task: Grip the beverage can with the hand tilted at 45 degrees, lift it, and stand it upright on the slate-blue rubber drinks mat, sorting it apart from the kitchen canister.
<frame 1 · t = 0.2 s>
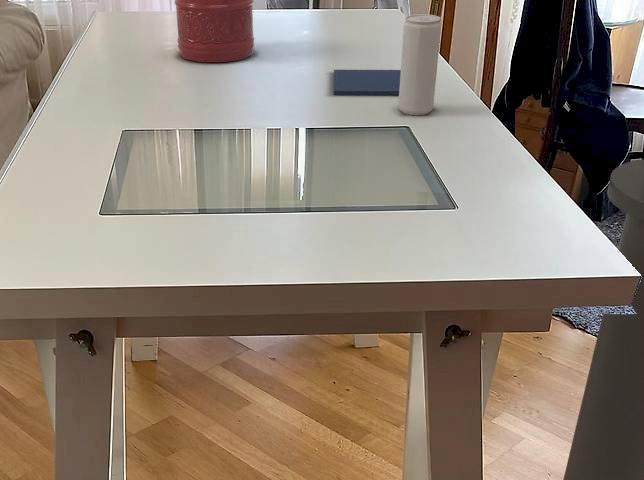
kitchen canister: (216, 55, 143), on the table
beverage can: (415, 112, 116), on the table
drinks mat: (373, 84, 127), on the table
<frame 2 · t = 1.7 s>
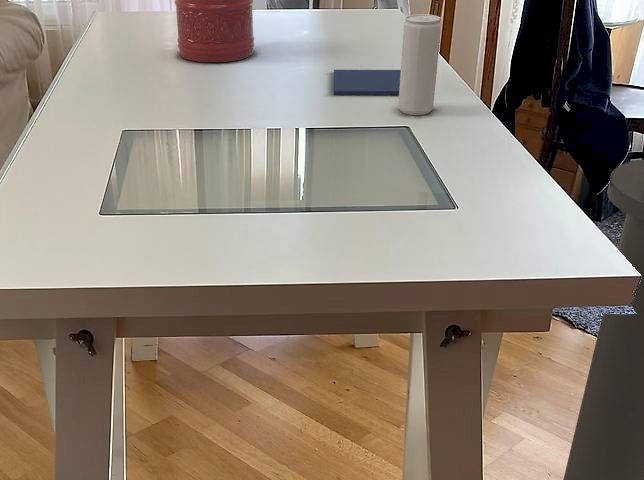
nothing on the table moved.
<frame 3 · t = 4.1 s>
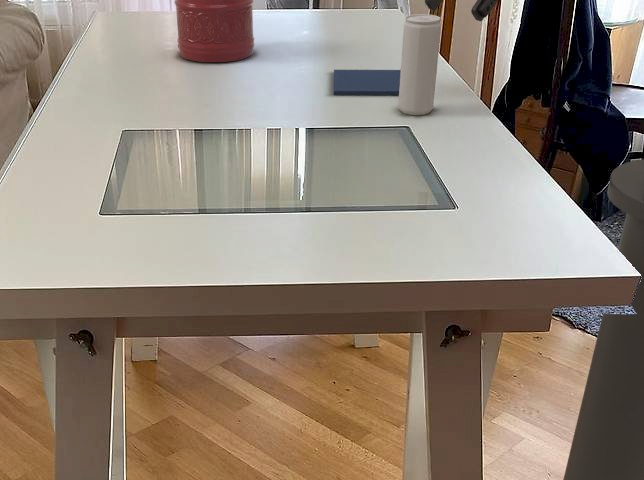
hand: (451, 11, 112), 12 cm above the table, tool tilted 45°, fingers open, 8 cm apart
nothing on the table moved.
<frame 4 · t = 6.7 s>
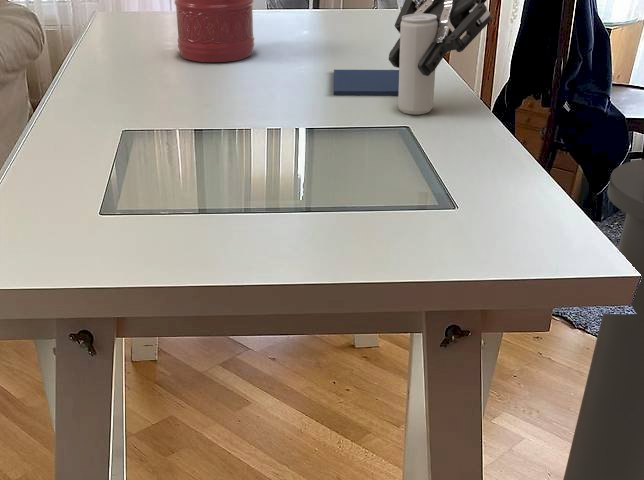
hand: (407, 67, 112), 6 cm above the table, tool tilted 45°, fingers closed on beverage can, 5 cm apart
beverage can: (415, 111, 116), on the table, touching gripper
everything else where it was.
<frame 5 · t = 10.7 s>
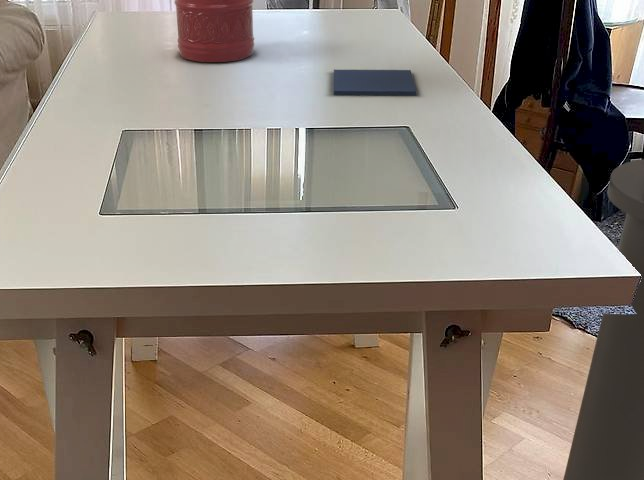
when the fingers open (7 cm above the table, at t = 14.8 s): beverage can stays where it is, resting on drinks mat.
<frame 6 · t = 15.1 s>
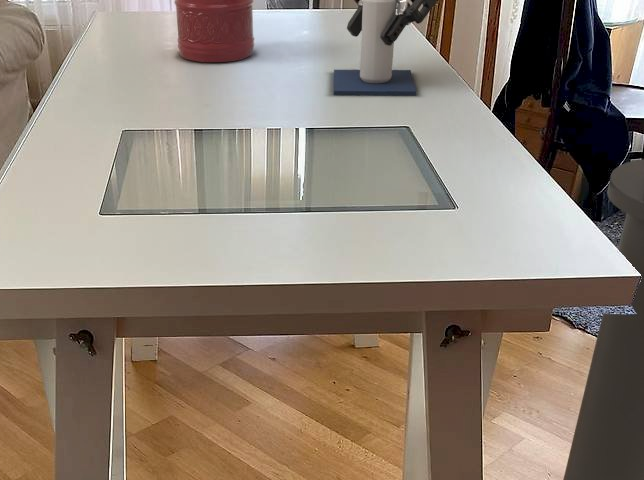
hand: (367, 37, 123), 7 cm above the table, tool tilted 45°, fingers open, 7 cm apart
beverage can: (375, 81, 127), resting on drinks mat
everything else where it was.
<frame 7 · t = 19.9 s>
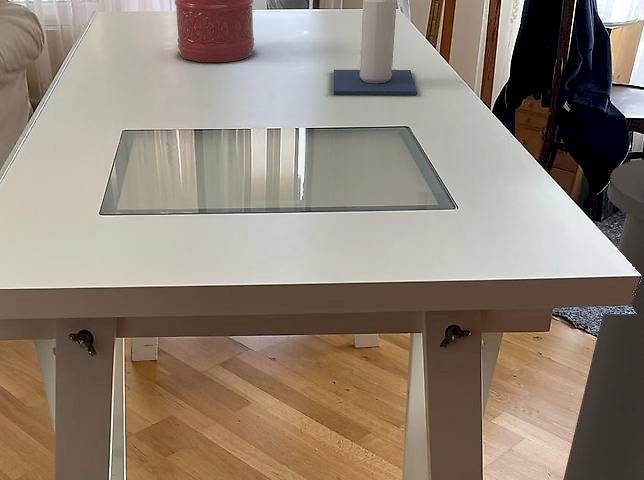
nothing on the table moved.
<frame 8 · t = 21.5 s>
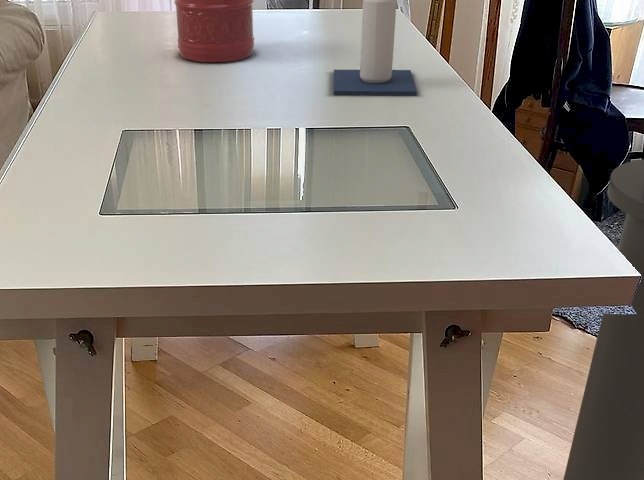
nothing on the table moved.
at the end: beverage can inside the target area on the drinks mat (0.3 cm from its centre), point 0.4 cm above the drinks mat's base; beverage can tilted 0°; kitchen canister moved 0.2 cm from its start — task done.
